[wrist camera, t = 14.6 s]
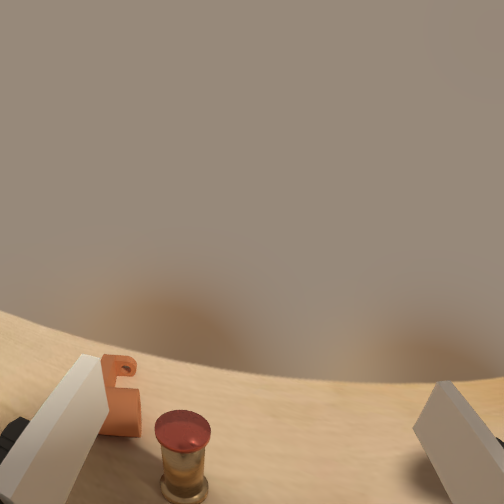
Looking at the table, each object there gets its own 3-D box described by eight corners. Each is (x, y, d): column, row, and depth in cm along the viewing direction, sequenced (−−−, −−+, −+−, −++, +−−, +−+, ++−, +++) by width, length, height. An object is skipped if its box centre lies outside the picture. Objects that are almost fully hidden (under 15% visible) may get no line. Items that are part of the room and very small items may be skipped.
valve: (209, 475, 35) (214, 413, 32) (206, 510, 29) (210, 454, 26) (165, 468, 35) (159, 404, 32) (157, 502, 29) (146, 443, 25)
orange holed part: (141, 446, 38) (136, 413, 36) (92, 442, 36) (82, 408, 34) (143, 372, 57) (141, 339, 55) (105, 369, 55) (101, 337, 53)
